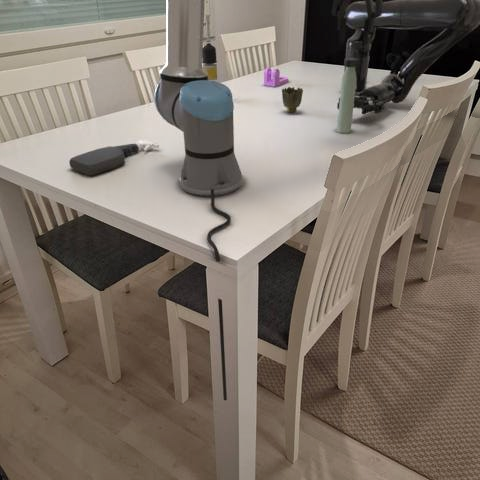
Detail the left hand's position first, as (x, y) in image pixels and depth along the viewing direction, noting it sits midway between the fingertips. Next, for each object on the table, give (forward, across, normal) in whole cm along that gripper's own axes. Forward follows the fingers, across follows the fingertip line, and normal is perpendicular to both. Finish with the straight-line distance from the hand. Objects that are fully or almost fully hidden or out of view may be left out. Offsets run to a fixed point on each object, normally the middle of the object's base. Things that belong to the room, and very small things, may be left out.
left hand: (353, 43), depth 129 cm
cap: (+5, 0, 0) cm, 5 cm away
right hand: (+19, +1, +3) cm, 20 cm away
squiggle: (+26, -3, +79) cm, 83 cm away
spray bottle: (+26, -46, -54) cm, 75 cm away
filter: (+26, -60, +13) cm, 67 cm away
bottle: (+26, 0, 0) cm, 26 cm away
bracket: (+26, -49, +48) cm, 74 cm away
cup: (+26, -24, +11) cm, 37 cm away
